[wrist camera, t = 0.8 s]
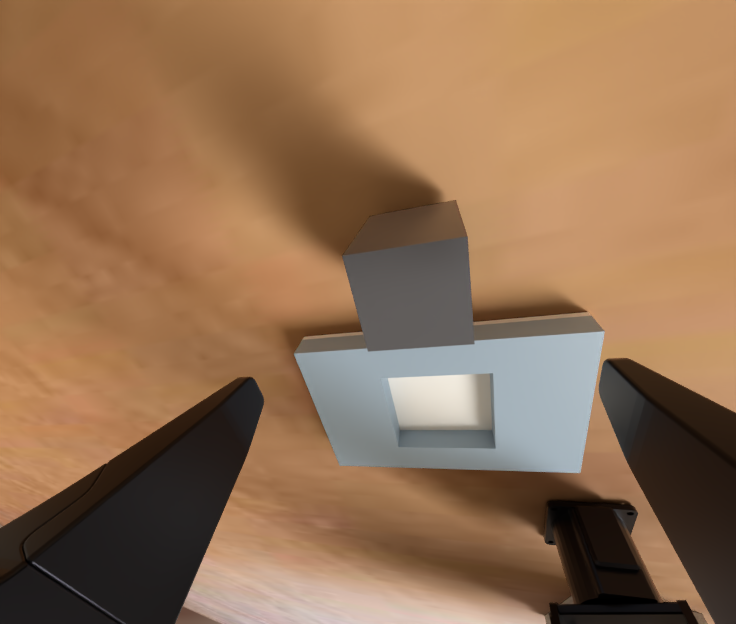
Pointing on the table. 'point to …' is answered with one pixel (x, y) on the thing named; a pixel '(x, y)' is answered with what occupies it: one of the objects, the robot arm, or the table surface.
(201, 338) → the table surface
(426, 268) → the plug
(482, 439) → the socket
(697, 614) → the white dispenser
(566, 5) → the table surface
